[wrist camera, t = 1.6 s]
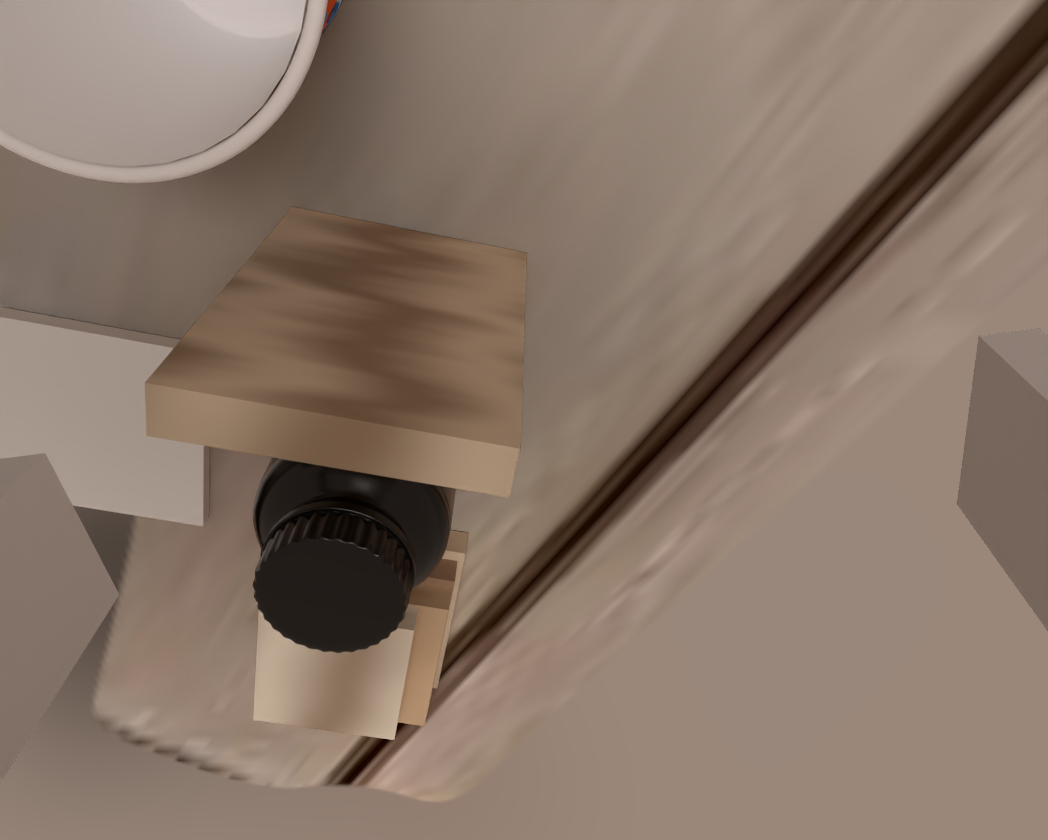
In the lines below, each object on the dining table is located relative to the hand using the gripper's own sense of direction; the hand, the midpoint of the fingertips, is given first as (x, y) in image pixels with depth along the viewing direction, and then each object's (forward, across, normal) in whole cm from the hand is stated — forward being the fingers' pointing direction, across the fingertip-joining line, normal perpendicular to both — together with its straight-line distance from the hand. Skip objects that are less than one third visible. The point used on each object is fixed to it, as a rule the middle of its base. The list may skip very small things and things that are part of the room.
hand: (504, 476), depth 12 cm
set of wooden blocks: (+21, -9, -14) cm, 27 cm away
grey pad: (+21, -20, -9) cm, 30 cm away
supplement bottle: (+22, -8, -10) cm, 25 cm away
